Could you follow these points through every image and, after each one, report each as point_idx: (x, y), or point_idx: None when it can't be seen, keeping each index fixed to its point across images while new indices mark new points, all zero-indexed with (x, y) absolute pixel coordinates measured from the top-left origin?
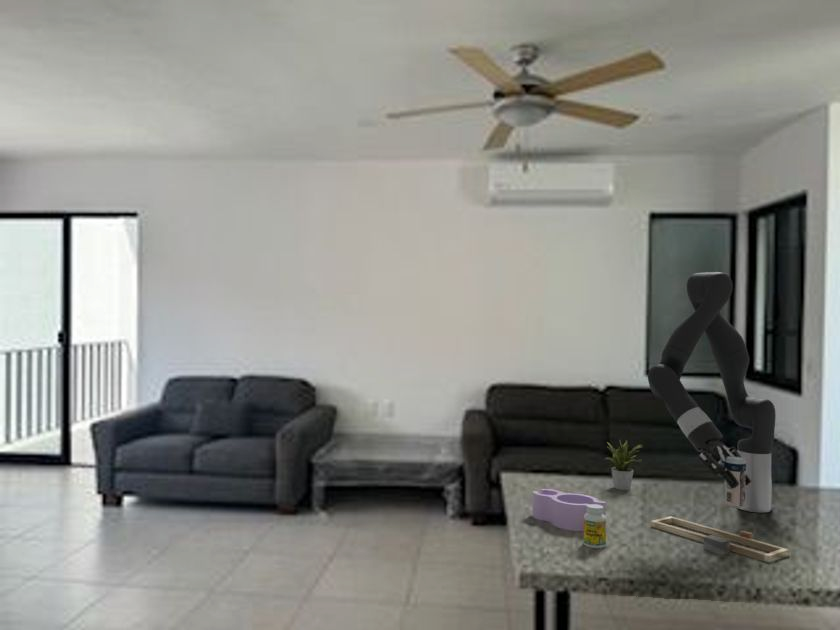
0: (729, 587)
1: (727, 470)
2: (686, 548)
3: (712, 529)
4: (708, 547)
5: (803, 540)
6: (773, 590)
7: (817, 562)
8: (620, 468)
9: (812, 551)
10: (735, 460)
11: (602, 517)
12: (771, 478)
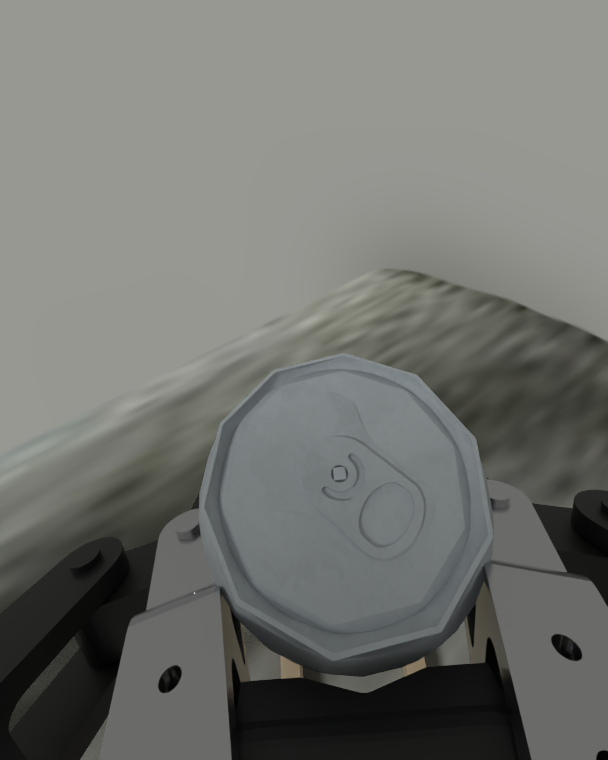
0: (583, 330)
1: (490, 482)
2: None
3: (300, 666)
4: None
5: (110, 460)
6: (494, 295)
7: (259, 350)
8: None
9: (190, 397)
10: (433, 401)
11: None
12: None
